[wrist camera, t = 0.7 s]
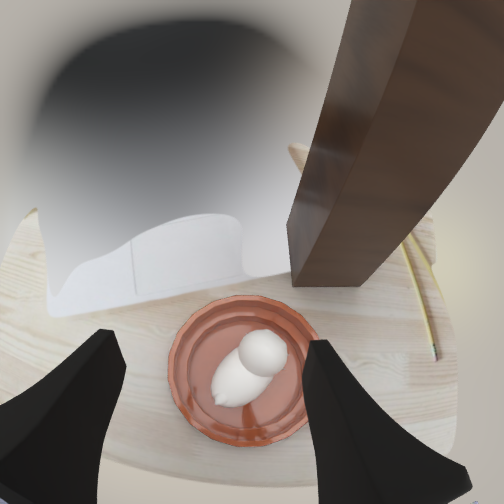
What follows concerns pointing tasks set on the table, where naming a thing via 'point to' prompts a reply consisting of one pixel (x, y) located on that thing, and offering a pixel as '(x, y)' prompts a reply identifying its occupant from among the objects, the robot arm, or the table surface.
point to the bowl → (212, 354)
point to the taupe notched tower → (393, 130)
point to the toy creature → (248, 369)
